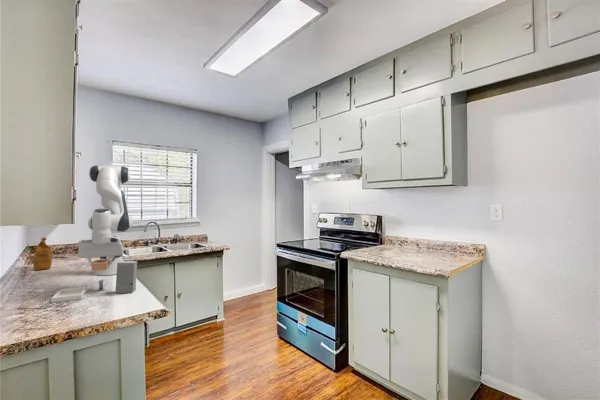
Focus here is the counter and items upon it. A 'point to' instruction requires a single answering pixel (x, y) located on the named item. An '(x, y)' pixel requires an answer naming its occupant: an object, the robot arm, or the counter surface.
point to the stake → (100, 286)
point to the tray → (69, 294)
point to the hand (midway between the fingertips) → (101, 264)
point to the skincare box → (126, 277)
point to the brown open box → (100, 264)
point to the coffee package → (42, 256)
